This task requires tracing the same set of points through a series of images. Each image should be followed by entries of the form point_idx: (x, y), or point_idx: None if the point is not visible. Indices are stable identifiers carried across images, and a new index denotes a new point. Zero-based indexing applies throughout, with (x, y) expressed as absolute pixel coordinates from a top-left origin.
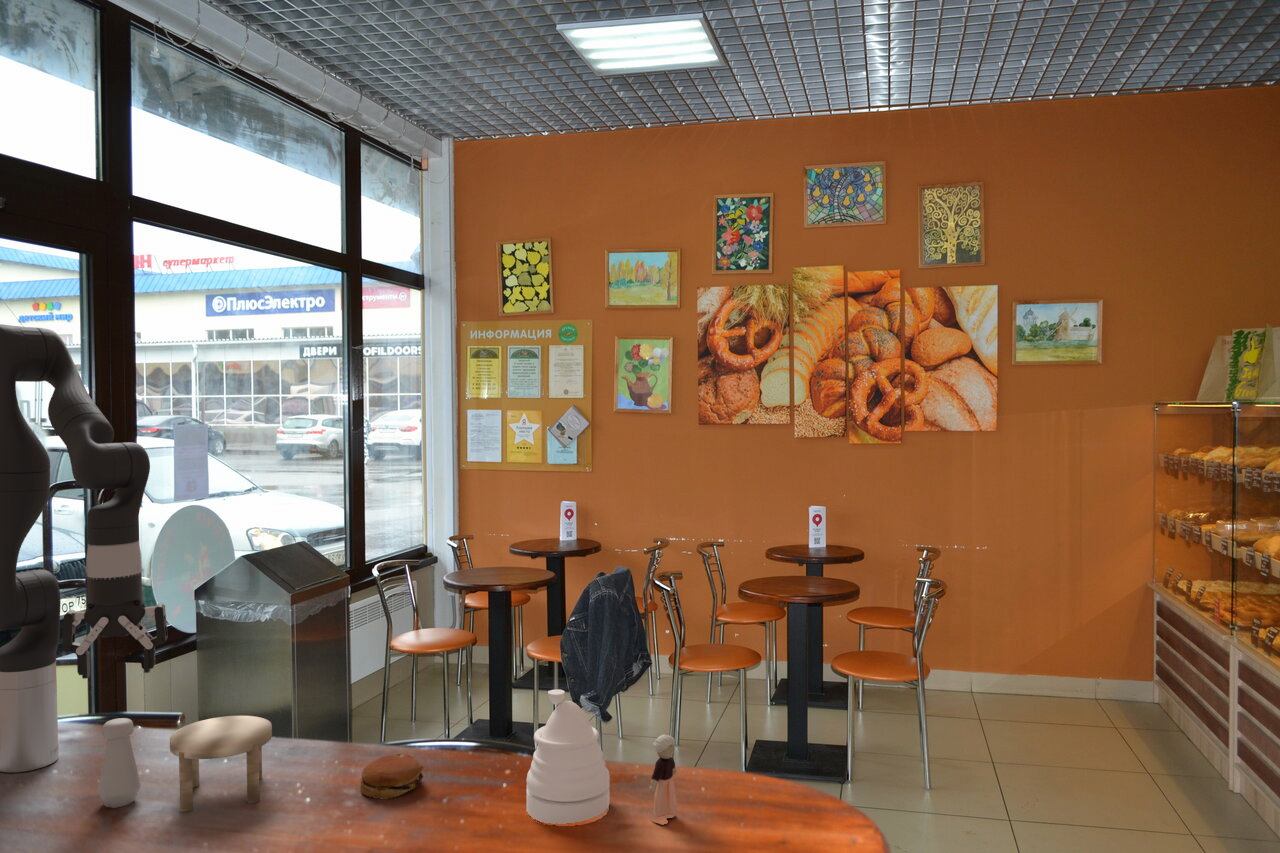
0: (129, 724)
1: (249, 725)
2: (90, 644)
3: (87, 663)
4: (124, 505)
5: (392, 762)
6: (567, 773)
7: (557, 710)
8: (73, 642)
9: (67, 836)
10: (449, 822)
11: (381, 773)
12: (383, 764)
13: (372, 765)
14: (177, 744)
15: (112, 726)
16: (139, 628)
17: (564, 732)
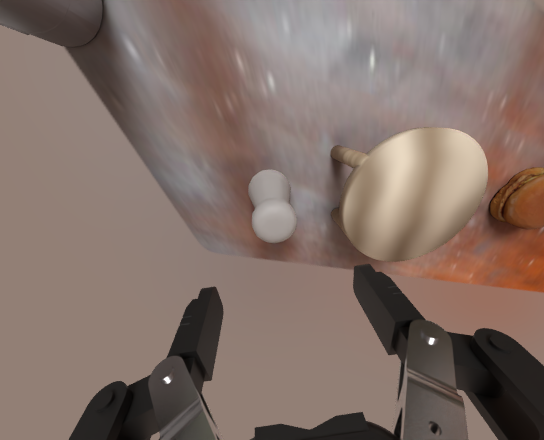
0: (294, 230)
1: (455, 185)
2: (218, 430)
3: (215, 343)
4: None
5: None
6: None
7: None
8: (127, 429)
9: (248, 248)
10: (521, 263)
11: (527, 226)
12: (541, 213)
13: (530, 208)
14: (356, 244)
15: (272, 242)
16: (434, 429)
17: None
